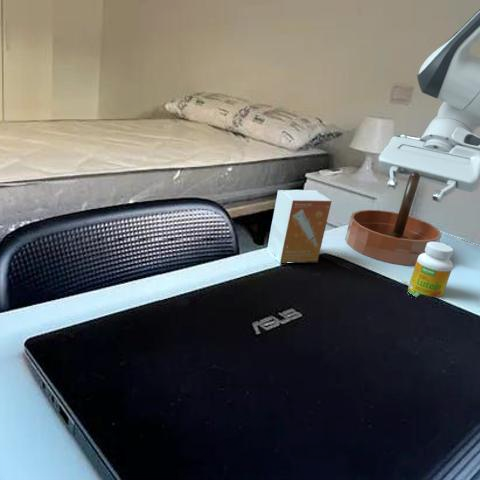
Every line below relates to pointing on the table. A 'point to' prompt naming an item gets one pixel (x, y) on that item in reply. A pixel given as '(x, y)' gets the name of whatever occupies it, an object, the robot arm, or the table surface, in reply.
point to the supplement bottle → (431, 270)
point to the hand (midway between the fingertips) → (412, 193)
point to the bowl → (387, 247)
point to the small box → (298, 225)
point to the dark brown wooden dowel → (405, 206)
